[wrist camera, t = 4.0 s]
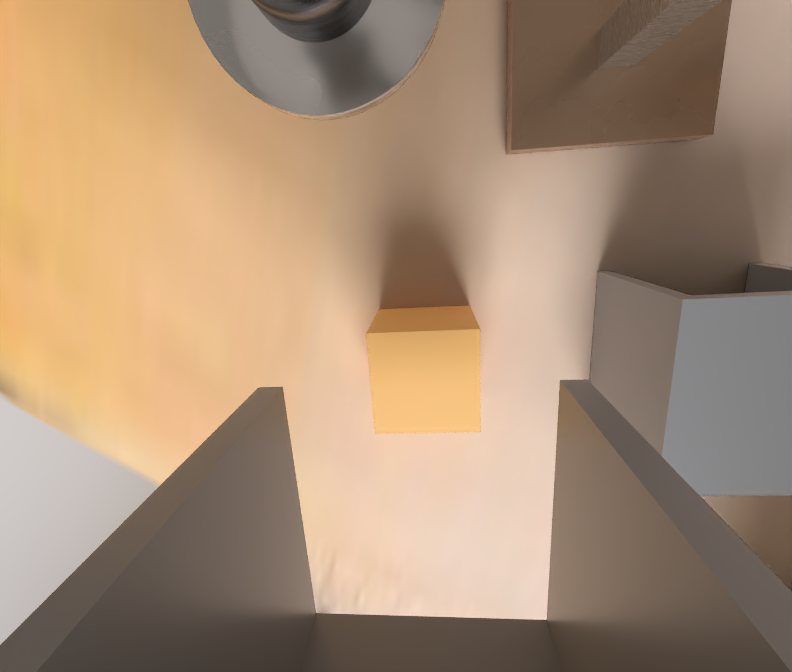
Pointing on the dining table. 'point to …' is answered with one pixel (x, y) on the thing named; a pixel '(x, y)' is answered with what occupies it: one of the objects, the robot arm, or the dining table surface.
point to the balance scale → (526, 62)
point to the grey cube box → (703, 377)
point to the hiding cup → (413, 635)
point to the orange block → (425, 370)
